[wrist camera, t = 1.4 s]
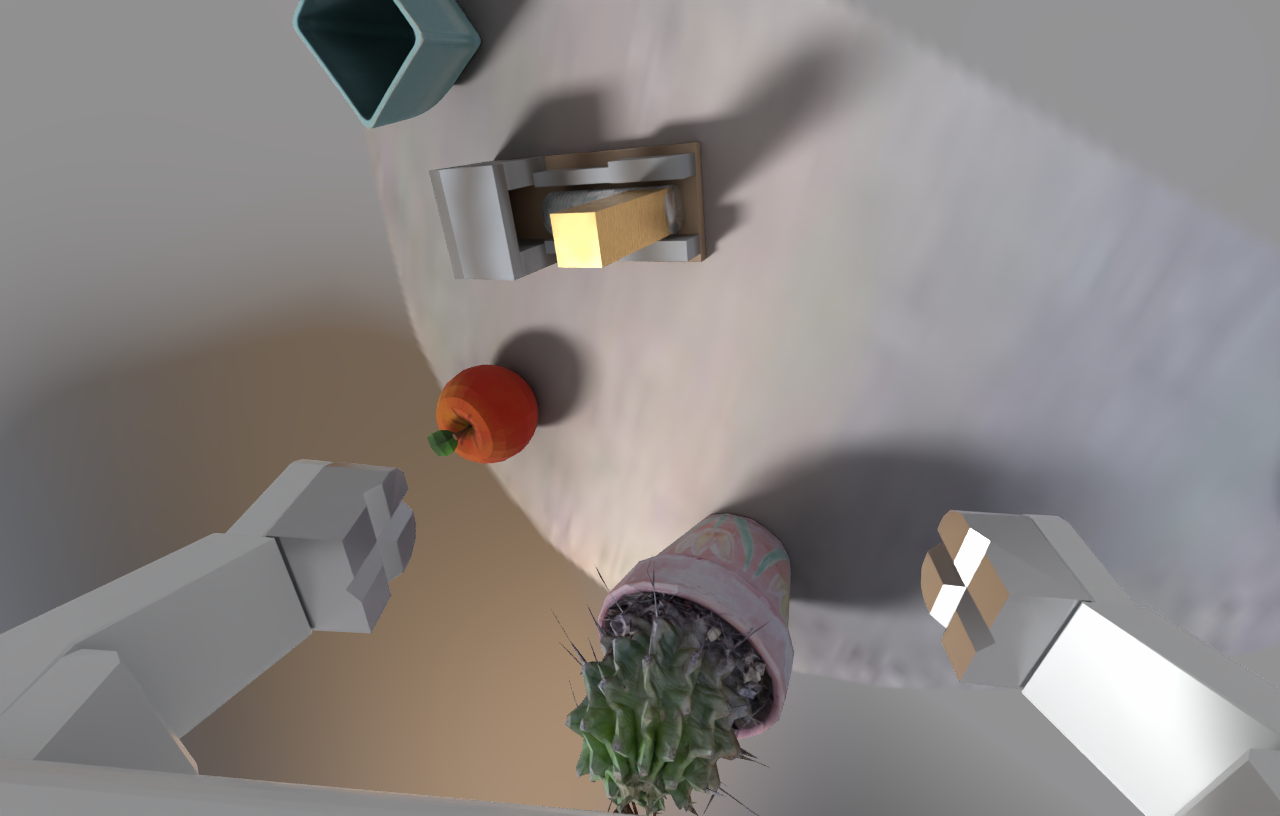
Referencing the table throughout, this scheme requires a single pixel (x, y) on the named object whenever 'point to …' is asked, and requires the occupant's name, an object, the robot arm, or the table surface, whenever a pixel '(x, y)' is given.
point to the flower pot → (388, 52)
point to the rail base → (515, 190)
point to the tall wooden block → (609, 222)
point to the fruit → (485, 415)
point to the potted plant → (687, 664)
